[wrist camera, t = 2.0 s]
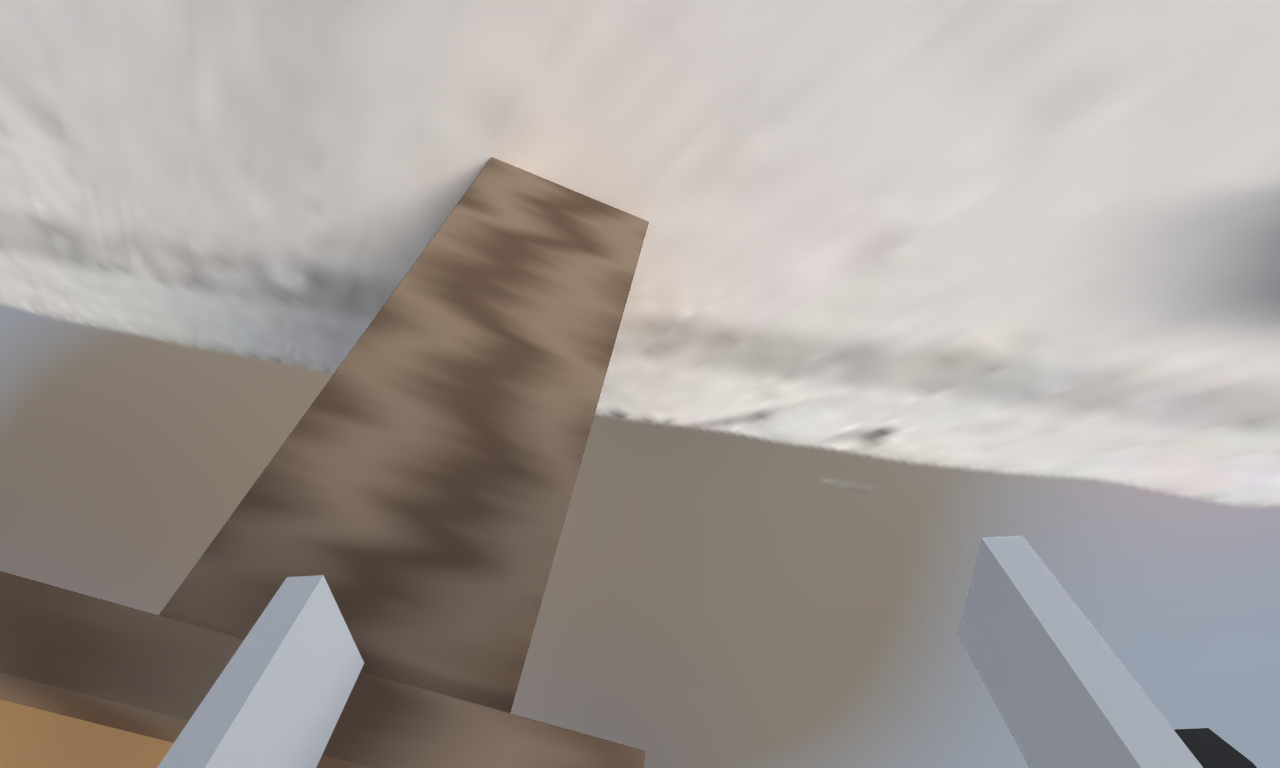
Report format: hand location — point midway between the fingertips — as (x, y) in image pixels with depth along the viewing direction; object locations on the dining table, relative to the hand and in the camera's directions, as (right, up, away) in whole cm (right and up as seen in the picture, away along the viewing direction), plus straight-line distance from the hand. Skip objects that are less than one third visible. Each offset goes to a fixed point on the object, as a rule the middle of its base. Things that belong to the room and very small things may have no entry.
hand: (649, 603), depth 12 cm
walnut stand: (-6, +13, +27) cm, 31 cm away
